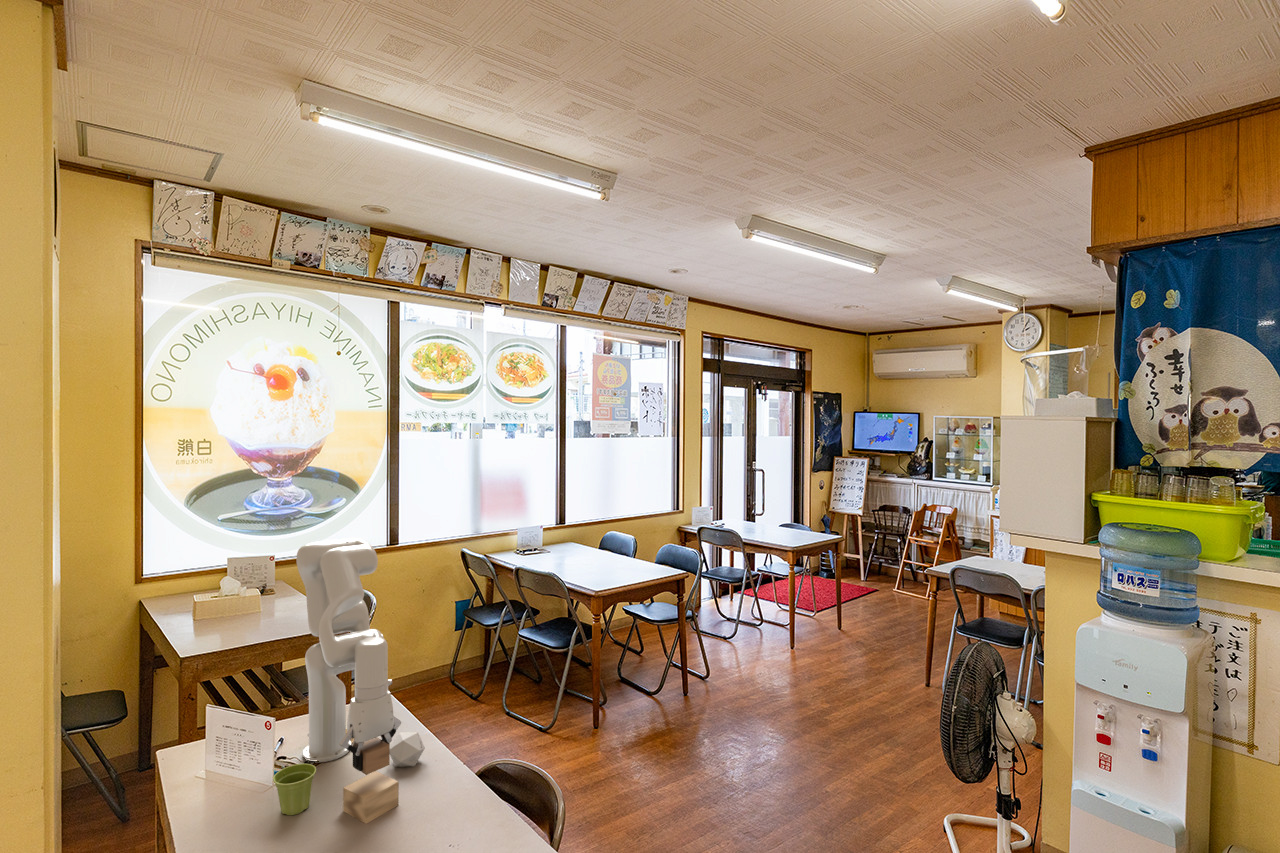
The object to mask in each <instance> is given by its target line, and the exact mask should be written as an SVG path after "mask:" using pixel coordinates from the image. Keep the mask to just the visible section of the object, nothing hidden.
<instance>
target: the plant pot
mask: <svg viewBox="0 0 1280 853" xmlns="http://www.w3.org/2000/svg"><path fill="white" fill-rule="evenodd" d="M316 773H317V767H316V766H315V765H313V764H312V763H311V764H310V763H297V764H293V765H288V766H286V767H284V768H282V769H280V770H279V771H277V772H276V773H275V774H274V775H273V777H272V780H273V783H274V784H275V787H276V790H277V796H278V800H279V806H280V812H281V813H282V815H283V814H284V815H287V816H293V815H294V816H295V815H298V814H301V813H302V812H304V810H307V809H308V808H309V806H310V802H311V794H312V787H313V786H312V785H313V780H314V778H315V774H316Z"/></svg>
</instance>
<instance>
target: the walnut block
mask: <svg viewBox="0 0 1280 853" xmlns="http://www.w3.org/2000/svg"><path fill="white" fill-rule="evenodd" d="M390 746H391V745H389V744H388V743H386V742H384V741H382V738H379V737H376V738H373V739H371V740H368V741H365V742H364V744H363V747H362V750H361V754H363V770H362V771H360V772H361V773H363V774H364V775H365V776H367V775H369V774H371V773H373V772H375V771H377V772H378V770H381V769H383V768H386V767H388V766H390V759H391V756H390Z"/></svg>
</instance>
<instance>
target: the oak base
mask: <svg viewBox="0 0 1280 853" xmlns="http://www.w3.org/2000/svg"><path fill="white" fill-rule="evenodd" d="M399 784H400V783H399V781H398V780H396V779H394V778H392V777H389V776H387V775H385V774H383V773H381V772H379V771H378V770H377V771H374V772H372V773H370V774H368V775H365V776H362V777H361V778H359V779H357V780H356V781H354V782H351V783H349V784H347V785H345V786H343V788H342V789H343V790H342V797H343V798H342V800H343V804H342V805H343V806H342V810H343V813H346V814H348V815H350V816H351V817H353V818H355V819H357V820H358V821H360V822H362V823H363V824H369V823H370V822H372V821H373V820H375V819H377V818H379V817H381V816H382V815H384V814H386V813H387V812H389V811H390V810H392V809H394V808H396V807H397V806H399V793H400V792H399V788H400V787H399Z"/></svg>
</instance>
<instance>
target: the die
mask: <svg viewBox="0 0 1280 853" xmlns="http://www.w3.org/2000/svg"><path fill="white" fill-rule="evenodd" d="M425 748H426V747H425V745H424V743H423V740H422V738H421V736H420V734H419V732H417V731H416V732H415V731H414V732H412V731H411V732H408V731H407V732H406V731H405V732H403V731H402V732H401V731H400V732H398V734H397V735H396V737H395V738H394V740H393V741H392V742H391V745H390V759H391V761H392V762H393V764H394V766H395V767H416V765H417V763H418V761H419V759H420V758H421V756H422V754H423V753H424V751H425Z"/></svg>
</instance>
